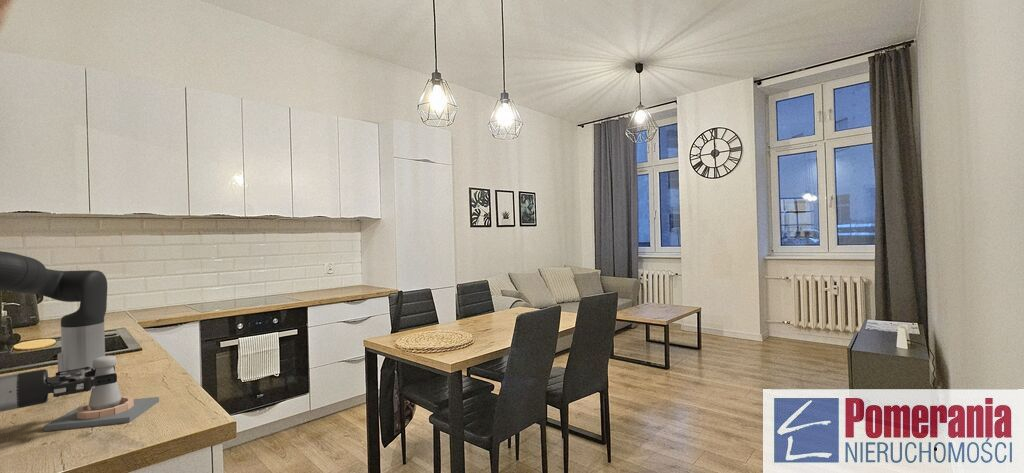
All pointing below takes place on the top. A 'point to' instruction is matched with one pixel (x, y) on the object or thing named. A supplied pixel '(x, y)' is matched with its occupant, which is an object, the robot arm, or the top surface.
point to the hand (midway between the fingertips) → (115, 373)
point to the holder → (103, 414)
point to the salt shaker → (106, 393)
